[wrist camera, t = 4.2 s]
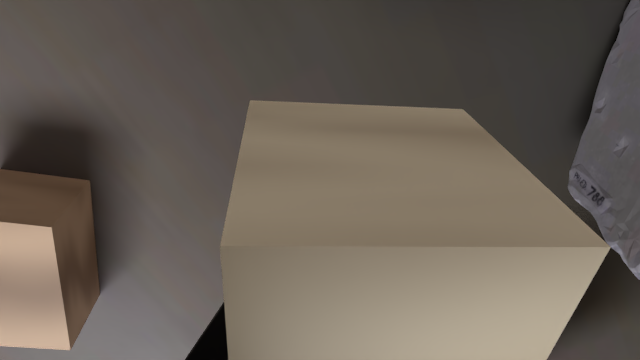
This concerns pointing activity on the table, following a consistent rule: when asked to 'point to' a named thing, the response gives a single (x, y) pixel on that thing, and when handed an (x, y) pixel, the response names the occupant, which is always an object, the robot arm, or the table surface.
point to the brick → (45, 259)
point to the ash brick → (394, 240)
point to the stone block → (614, 147)
